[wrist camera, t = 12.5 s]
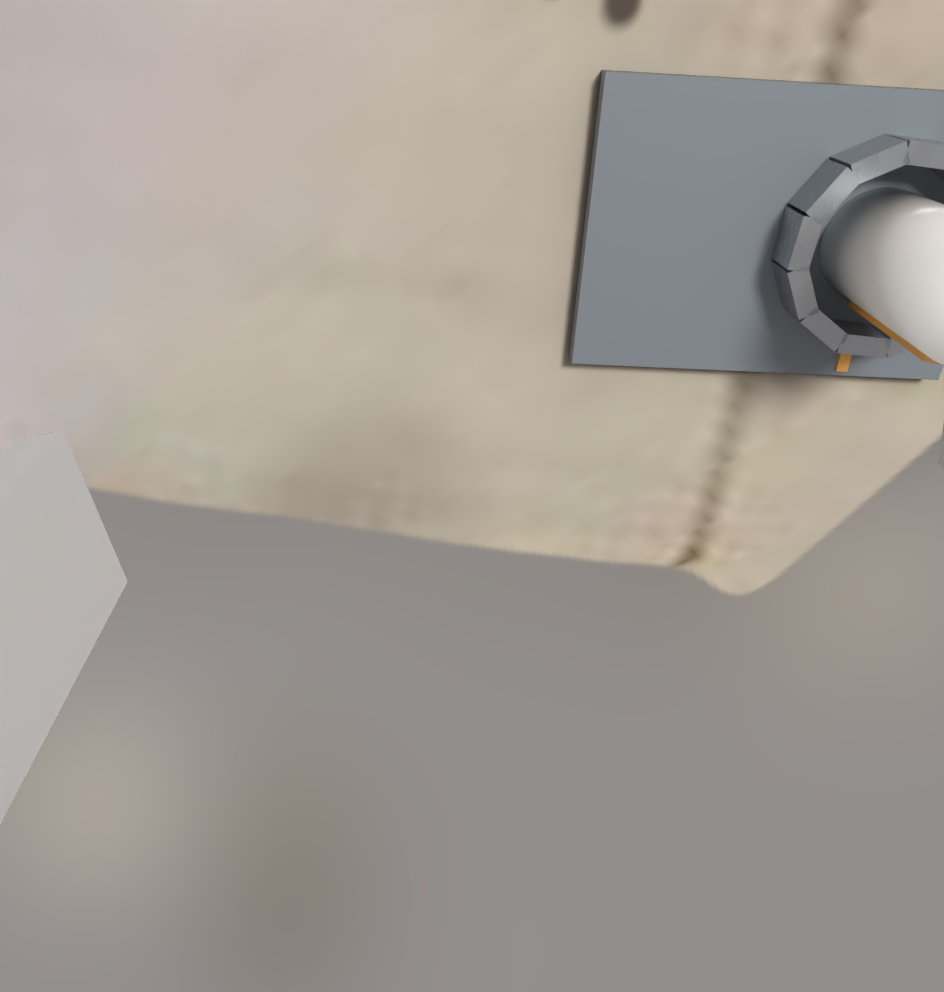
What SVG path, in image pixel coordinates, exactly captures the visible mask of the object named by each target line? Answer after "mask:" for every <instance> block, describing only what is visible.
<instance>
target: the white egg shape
mask: <svg viewBox="0 0 944 992" xmlns="http://www.w3.org/2000/svg"><path fill="white" fill-rule="evenodd" d="M819 258H820V265H821V269H822V272H823V275H824V277H825V278H826V280H827V281H828V283H829V284H830V285H831V286H832V287H833V288H834V289H835V290H837V291H838V292H839V293H841V294H842V295H844V296H845V297H846V298H848V299H849V303H848V306H849V307H850V308H852V309H853V310H854V311H856V312H857V313H858V314H860V315H861V316H862V317H864V318H865V319H866V320H868V321H869V322H870V323H872V324H873V325H875V326H876V327H877V328H879V329H880V330H881V331H883V332H884V333H885V334H887V335H888V336H889V337H891V338H892V339H893V340H895V341H896V342H897V343H899V344H900V345H901V346H903V347H904V348H906V349H907V350H908V351H910V352H911V353H912V354H914V355H915V356H916V357H918V358H919V359H920V360H922V361H925V362H930V363H935V364H940V365H944V204H941V203H938V202H936V201H933V200H931V199H928V198H926V197H923V196H920V195H918V194H915V193H913V192H910V191H908V190H905V189H902V188H898V187H878V188H874V189H870V190H867V191H865V192H862V193H860V194H858V195H857V196H855V197H853V198H852V199H850V200H849V201H848V202H846V203H845V204H844V205H843V206H842V207H841V208H840V209H839V210H838V211H837V212H836V213H835V215H834V216H833V217H832V219H831V220H830V222H829V223H828V225H827V227H826V229H825V231H824V234H823V237H822V240H821V244H820V252H819Z"/></svg>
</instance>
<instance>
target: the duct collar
mask: <svg viewBox="0 0 944 992" xmlns="http://www.w3.org/2000/svg"><path fill="white" fill-rule="evenodd" d="M904 165H913V166H921V167H928V168H931V169H932V170H933V171H934V172H935V173H936V174H937V175H938V176H939V177H940V178H941V179H942V180H943V181H944V142H941V141H937V140H930V139H922V138H915V137H908V136H900V135H893V134H886V135H884V134H882V135H879V136H877V137H875V138H872V139H870V140H867V141H865V142H863V143H860V144H858V145H855V146H853V147H851V148H848V149H846V150H844V151H841V152H839V153H836V154H834V155H832V156H830V160H829V159H826V160H825V161H824V162H823V163H822V164H821V165H820V167H819V168H818V169H817V170H816V171H815V172H814V173H813V174H812V175H811V177H810V178H809V179H808V180H807V181H806V182H805V183H804V184H803V186H802V187H801V188H800V189H799V190H798V191H797V192H796V193H795V195H794V196H793V197H792V198H791V199H790V200H789V201H788V203H789V204H790V205H791V206H785V210H784V213H783V217H782V220H781V224H780V227H779V230H778V234H777V237H776V241H775V244H774V248H773V251H772V255H771V257H772V258H773V260H771V263H772V267H773V271H774V275H775V279H776V283H777V287H778V291H779V295H780V299H781V303H782V306H784V308H785V309H786V310H787V311H788V312H789V313H790V314H791V315H792V316H793V317H795V318H796V319H797V320H798V321H799V322H800V323H801V324H803V325H804V326H805V327H806V328H807V329H808V330H810V331H811V332H812V333H813V334H814V335H815V336H817V337H818V338H819V339H820V340H821V341H822V342H824V343H825V344H826V345H827V346H828V347H830V348H831V349H832V350H833V351H834V352H835V351H836V352H837V353H843V354H851V355H860V356H869V357H877V358H885V357H886V356H887V357H888V358H890V357H892V356H895V355H898V354H900V353H903V352H906V351H908V350H907V349H906V348H904V347H903V346H901V345H900V344H899V343H897V342H896V341H895V340H893V339H892V338H891V337H889V336H888V335H887V334H885V333H884V332H883V331H881V330H880V329H879V328H877V327H876V326H875V325H873V324H872V323H861V322H852V321H844V320H836V319H829V318H828V317H827V316H826V315H825V314H823V313H822V312H821V311H820V310H819V309H818V306H817V301H816V297H815V293H814V288H813V284H812V280H811V275H810V271H809V267H810V264H811V260H812V257H813V254H814V251H815V248H816V244H817V241H818V238H819V235H820V232H821V228H822V225H823V223H824V221H825V220H826V219H827V218H828V217H829V216H830V215H831V214H832V213H833V212H834V211H835V209H836V208H837V207H838V206H839V205H840V204H841V203H842V202H843V201H844V200H845V199H846V198H847V196H848V195H849V194H850V193H851V192H852V191H853V190H854V189H855V188H856V187H857V186H858V185H859V184H860V183H863V182H865V181H868V180H870V179H872V178H875V177H877V176H880V175H882V174H885V173H887V172H889V171H892V170H894V169H897V168H899V167H902V166H904Z"/></svg>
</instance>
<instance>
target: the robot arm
mask: <svg viewBox="0 0 944 992" xmlns="http://www.w3.org/2000/svg"><path fill="white" fill-rule="evenodd" d="M938 463H939V464H940V465H941V466H942V467H943V468H944V424H943V432H942V439H941V446H940V453H939V460H938ZM126 584H127V579H126V577H125V574H124V572H123V570H122V567H121V565H120V563H119V560H118V558H117V556H116V553H115V551H114V549H113V547H112V544H111V542H110V540H109V537H108V535H107V533H106V530H105V528H104V525H103V523H102V521H101V518H100V516H99V514H98V512H97V509H96V507H95V505H94V502H93V500H92V497H91V495H90V493H89V490H88V488H87V486H86V483H85V481H84V479H83V476H82V474H81V472H80V469H79V467H78V465H77V462H76V460H75V458H74V455H73V453H72V451H71V448H70V446H69V444H68V442H67V439H66V437H65V435H64V432H56V433H50V434H43V435H37V436H30V437H24V438H17V439H13V440H12V441H11V442H10V443H9V444H8V445H7V446H6V447H5V448H4V449H3V450H2V451H1V452H0V825H1V823H2V821H3V819H4V817H5V815H6V813H7V811H8V809H9V807H10V805H11V803H12V802H13V800H14V798H15V796H16V794H17V792H18V790H19V788H20V786H21V785H22V783H23V781H24V779H25V777H26V775H27V773H28V771H29V769H30V767H31V765H32V763H33V762H34V760H35V758H36V756H37V754H38V752H39V750H40V748H41V746H42V744H43V743H44V741H45V739H46V737H47V735H48V733H49V731H50V729H51V727H52V725H53V723H54V722H55V720H56V718H57V716H58V714H59V712H60V710H61V708H62V706H63V704H64V702H65V700H66V699H67V697H68V695H69V693H70V691H71V689H72V687H73V685H74V683H75V681H76V679H77V678H78V676H79V674H80V672H81V670H82V668H83V666H84V664H85V662H86V660H87V658H88V657H89V655H90V653H91V651H92V649H93V647H94V645H95V643H96V641H97V639H98V638H99V636H100V634H101V632H102V630H103V628H104V626H105V624H106V622H107V620H108V618H109V617H110V615H111V613H112V611H113V609H114V607H115V605H116V603H117V601H118V599H119V597H120V596H121V594H122V591H123V590H124V588H125V586H126Z"/></svg>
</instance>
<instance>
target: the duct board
mask: <svg viewBox="0 0 944 992" xmlns="http://www.w3.org/2000/svg"><path fill="white" fill-rule="evenodd" d="M882 134H884V135H886V134H893V135H900V136H908V137H915V138H922V139H930V140H937V141H941V142H944V90H934V89H917V88H900V87H883V86H866V85H849V84H832V83H815V82H798V81H781V80H764V79H747V78H730V77H713V76H696V75H679V74H662V73H645V72H627V71H610V70H602V73H601V82H600V91H599V99H598V108H597V117H596V126H595V135H594V143H593V152H592V161H591V170H590V178H589V187H588V196H587V205H586V214H585V222H584V231H583V240H582V249H581V258H580V266H579V275H578V284H577V293H576V302H575V310H574V319H573V328H572V337H571V346H570V354H569V356H570V359H571V362H572V364H592V365H615V366H637V367H660V368H683V369H705V370H728V371H750V372H773V373H795V374H818V375H840V376H863V377H886V378H908V379H931V380H938V379H939V376H940V373H941V370H942V368H943V365H940V364H935V363H930V362H925V361H922V360H920V359H919V358H918V357H916V356H915V355H914V354H912V353H911V352H910V351H906V352H903V353H900V354H898V355H895V356H892V357H890V358H888V357H887V356H886V357H885V358H877V357H869V356H860V355H851V354H843V353H837V352H836V351H835V352H834V351H833V350H832V349H831V348H830V347H828V346H827V345H826V344H825V343H824V342H822V341H821V340H820V339H819V338H818V337H817V336H815V335H814V334H813V333H812V332H811V331H810V330H808V329H807V328H806V327H805V326H804V325H803V324H801V323H800V322H799V321H798V320H797V319H796V318H795V317H793V316H792V315H791V314H790V313H789V312H788V311H787V310H786V309H785V308H784V306H782V303H781V299H780V295H779V291H778V287H777V283H776V279H775V275H774V271H773V267H772V263H771V260H773V258H772V257H771V255H772V251H773V248H774V244H775V241H776V237H777V234H778V230H779V227H780V224H781V220H782V217H783V213H784V210H785V206H791V205H790V204H789V203H788V201H789V200H790V199H791V198H792V197H793V196H794V195H795V193H796V192H797V191H798V190H799V189H800V188H801V187H802V186H803V184H804V183H805V182H806V181H807V180H808V179H809V178H810V177H811V175H812V174H813V173H814V172H815V171H816V170H817V169H818V168H819V167H820V165H821V164H822V163H823V162H824V161H825V160H826V159H829V160H830V156H832V155H834V154H836V153H839V152H841V151H844V150H846V149H848V148H851V147H853V146H855V145H858V144H860V143H863V142H865V141H867V140H870V139H872V138H875V137H877V136H879V135H882ZM878 187H898V188H902V189H905V190H908V191H910V192H913V193H915V194H918V195H920V196H923V197H926V198H928V199H931V200H933V201H936V202H938V203H941V204H944V181H943V180H942V179H941V178H940V177H939V176H938V175H937V174H936V173H935V172H934V171H933V170H932V169H931V168H928V167H921V166H913V165H904V166H902V167H899V168H897V169H894V170H892V171H889V172H887V173H885V174H882V175H880V176H877V177H875V178H872V179H870V180H868V181H865V182H863V183H860V184H859V185H858V186H857V187H856V188H855V189H854V190H853V191H852V192H851V193H850V194H849V195H848V196H847V198H846V199H845V200H844V201H843V202H842V203H841V204H840V205H839V206H838V207H837V208H836V209H835V211H834V212H833V213H832V214H831V215H830V216H829V217H828V218H827V219H826V220H825V221H824V223H823V225H822V228H821V232H820V235H819V238H818V241H817V244H816V248H815V251H814V254H813V257H812V260H811V264H810V267H809V271H810V275H811V280H812V284H813V288H814V293H815V297H816V301H817V306H818V309H819V310H820V311H821V312H822V313H823V314H825V315H826V316H827V317H828V318H829V319H836V320H844V321H852V322H861V323H870V322H869V321H868V320H866V319H865V318H864V317H862V316H861V315H860V314H858V313H857V312H856V311H854V310H853V309H852V308H850V307H849V306H848V303H849V299H848V298H846V297H845V296H844V295H842V294H841V293H839V292H838V291H837V290H835V289H834V288H833V287H832V286H831V285H830V284H829V283H828V281H827V280H826V278H825V277H824V275H823V272H822V269H821V265H820V258H819V252H820V244H821V240H822V237H823V234H824V231H825V229H826V227H827V225H828V223H829V222H830V220H831V219H832V217H833V216H834V215H835V213H836V212H837V211H838V210H839V209H840V208H841V207H842V206H843V205H844V204H845V203H846V202H848V201H849V200H850V199H852V198H853V197H855V196H857V195H858V194H860V193H862V192H865V191H867V190H870V189H874V188H878Z"/></svg>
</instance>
